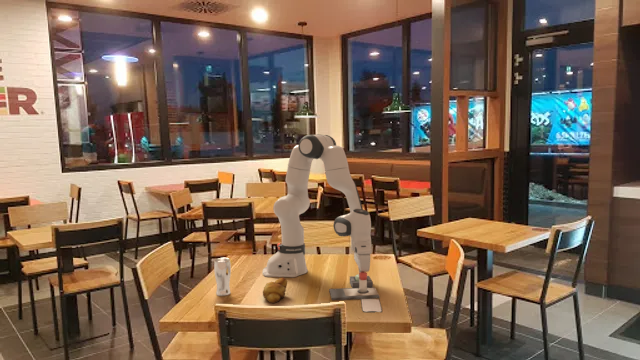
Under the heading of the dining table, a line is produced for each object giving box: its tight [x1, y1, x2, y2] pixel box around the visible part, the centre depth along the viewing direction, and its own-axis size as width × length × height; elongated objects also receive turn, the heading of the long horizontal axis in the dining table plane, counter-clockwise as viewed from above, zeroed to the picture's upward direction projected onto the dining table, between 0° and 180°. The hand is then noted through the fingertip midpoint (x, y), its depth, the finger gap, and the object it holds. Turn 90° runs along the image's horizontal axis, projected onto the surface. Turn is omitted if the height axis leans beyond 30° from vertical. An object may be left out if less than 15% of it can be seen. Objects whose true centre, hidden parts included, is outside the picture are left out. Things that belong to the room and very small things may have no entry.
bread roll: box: [262, 277, 288, 304], centre depth 190 cm, size 13×10×8 cm
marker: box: [358, 272, 368, 293], centre depth 194 cm, size 3×3×8 cm
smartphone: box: [360, 298, 383, 313], centre depth 183 cm, size 8×1×16 cm
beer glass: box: [213, 257, 232, 297], centre depth 196 cm, size 7×7×15 cm
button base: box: [349, 275, 374, 288], centre depth 205 cm, size 9×9×3 cm
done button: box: [354, 273, 359, 282], centre depth 205 cm, size 5×5×4 cm
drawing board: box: [328, 286, 381, 301], centre depth 194 cm, size 20×11×1 cm, turn 95°
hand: (361, 275), depth 205 cm, fingers closed, pressing on done button
